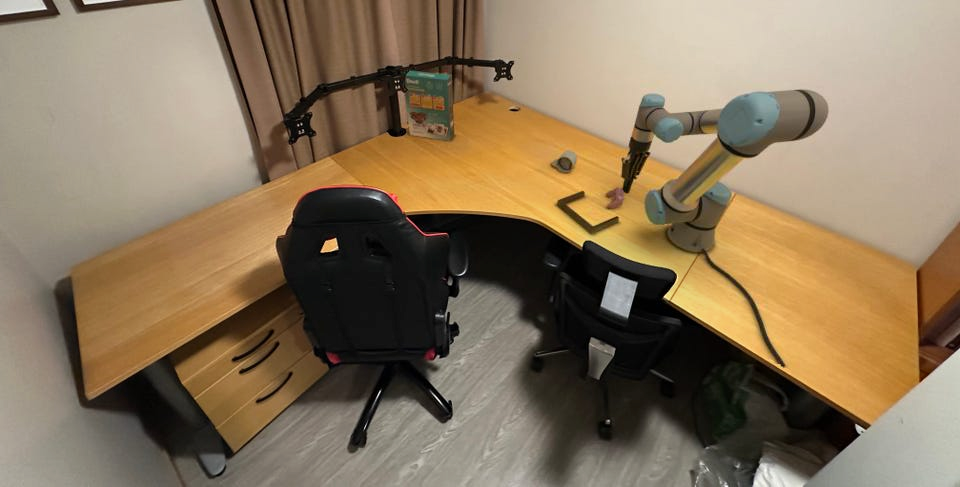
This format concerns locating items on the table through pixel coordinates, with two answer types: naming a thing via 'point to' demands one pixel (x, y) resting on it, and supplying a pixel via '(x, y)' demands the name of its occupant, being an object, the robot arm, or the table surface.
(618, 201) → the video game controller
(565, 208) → the holder
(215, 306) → the table surface
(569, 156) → the ceramic mug
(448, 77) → the cake mix box
